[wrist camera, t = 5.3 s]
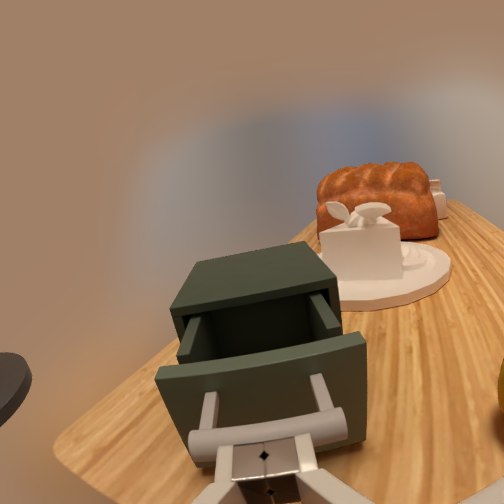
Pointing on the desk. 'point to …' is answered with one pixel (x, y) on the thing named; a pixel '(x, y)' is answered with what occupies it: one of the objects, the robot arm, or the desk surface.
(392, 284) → the dish
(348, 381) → the drawer
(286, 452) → the robot arm
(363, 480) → the desk surface
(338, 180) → the bread
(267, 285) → the cabinet
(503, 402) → the lemon
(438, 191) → the pepper shaker
